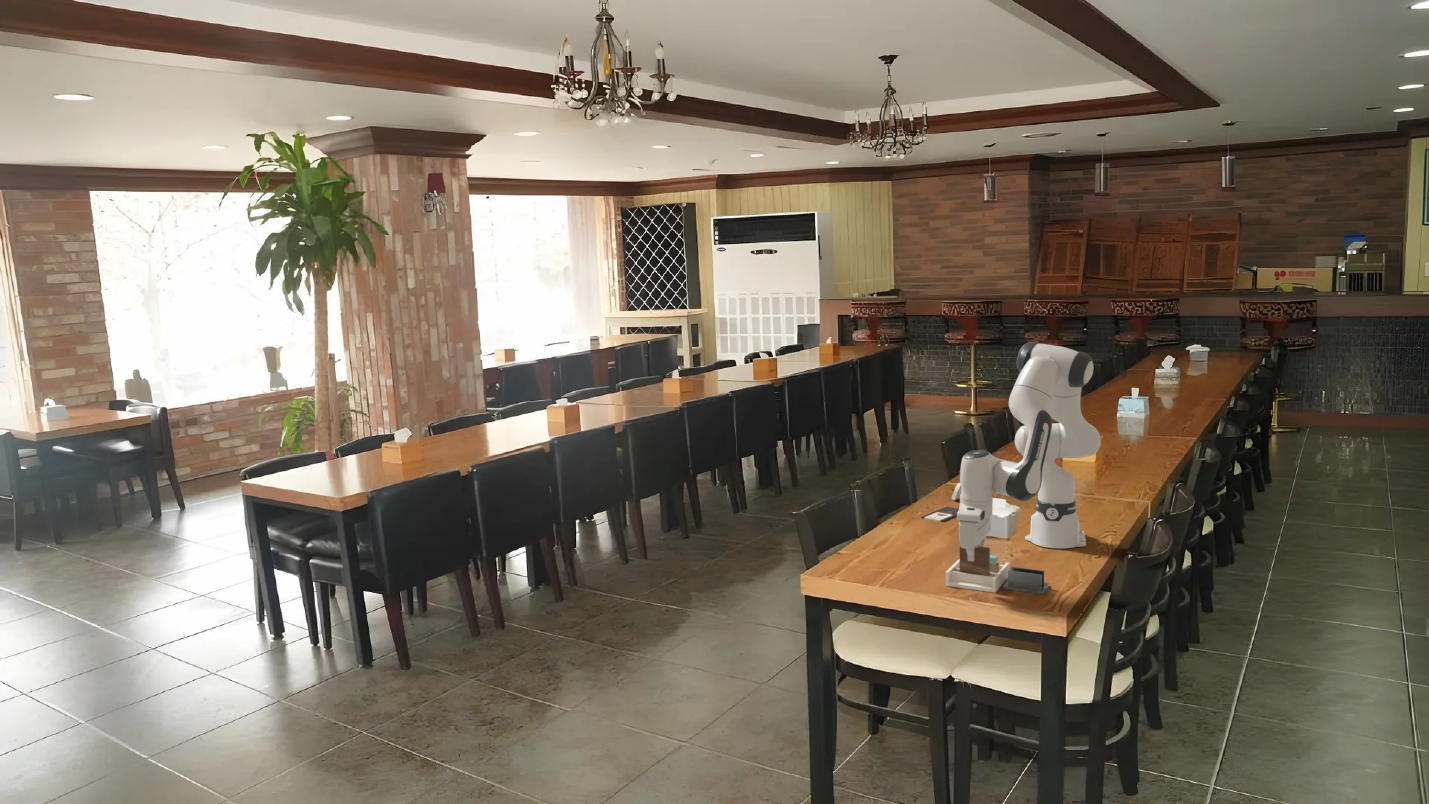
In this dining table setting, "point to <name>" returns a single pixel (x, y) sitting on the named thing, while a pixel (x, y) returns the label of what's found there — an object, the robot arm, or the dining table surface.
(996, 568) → the oak offcut
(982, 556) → the walnut board
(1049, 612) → the dining table surface
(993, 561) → the teal offcut
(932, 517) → the chocolate bar
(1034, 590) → the stand
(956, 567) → the rack
